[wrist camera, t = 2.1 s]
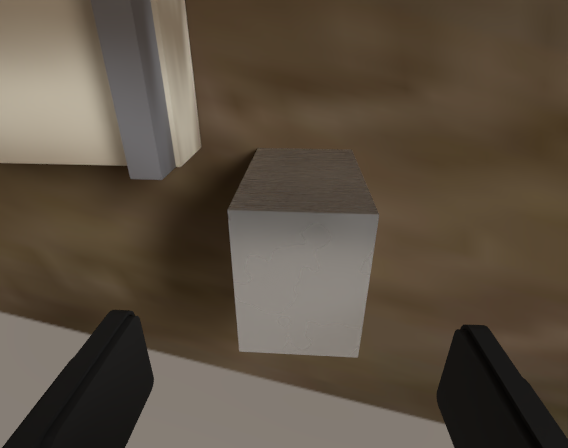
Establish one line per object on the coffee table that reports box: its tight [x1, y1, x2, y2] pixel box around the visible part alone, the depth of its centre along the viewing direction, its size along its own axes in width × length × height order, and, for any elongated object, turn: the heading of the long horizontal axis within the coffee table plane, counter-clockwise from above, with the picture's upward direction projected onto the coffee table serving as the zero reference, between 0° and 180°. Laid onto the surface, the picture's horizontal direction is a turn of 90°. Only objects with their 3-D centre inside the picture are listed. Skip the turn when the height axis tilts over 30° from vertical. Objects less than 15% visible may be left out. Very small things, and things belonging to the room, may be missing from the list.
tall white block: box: [227, 148, 379, 357], centre depth 15 cm, size 6×4×7 cm
